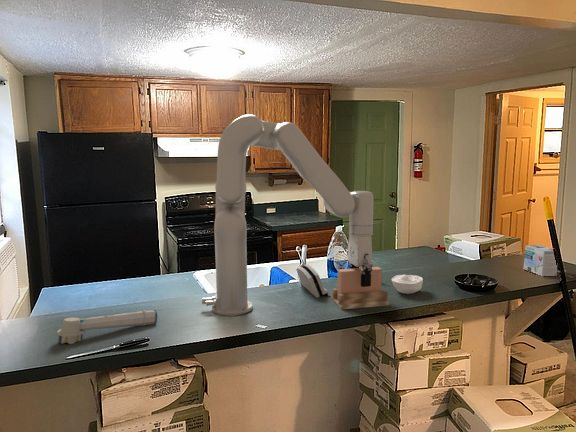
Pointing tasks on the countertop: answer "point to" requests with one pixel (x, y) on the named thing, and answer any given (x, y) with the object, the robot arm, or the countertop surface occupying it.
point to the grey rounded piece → (311, 280)
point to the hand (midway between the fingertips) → (359, 281)
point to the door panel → (357, 281)
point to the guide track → (360, 299)
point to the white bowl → (407, 283)
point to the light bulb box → (540, 260)
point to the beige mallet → (103, 324)
